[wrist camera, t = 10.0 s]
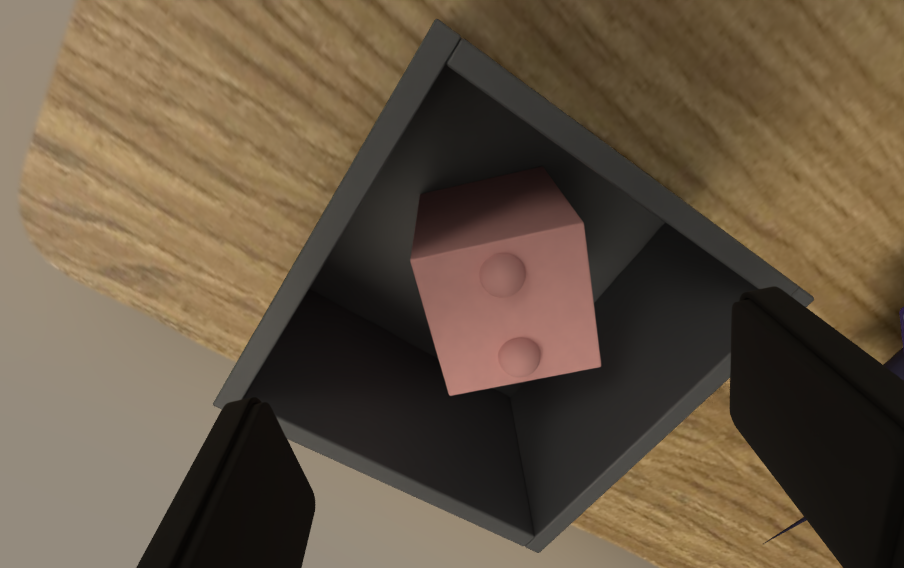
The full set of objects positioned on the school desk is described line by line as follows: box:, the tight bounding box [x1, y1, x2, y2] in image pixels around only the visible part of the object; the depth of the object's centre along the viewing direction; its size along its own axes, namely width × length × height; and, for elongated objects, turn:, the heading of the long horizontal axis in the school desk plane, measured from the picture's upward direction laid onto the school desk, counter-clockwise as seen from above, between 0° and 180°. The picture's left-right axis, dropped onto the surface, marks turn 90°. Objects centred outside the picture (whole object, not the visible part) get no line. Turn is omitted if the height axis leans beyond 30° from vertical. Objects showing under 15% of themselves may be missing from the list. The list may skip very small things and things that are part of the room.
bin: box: [213, 19, 814, 553], centre depth 17 cm, size 11×11×8 cm
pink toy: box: [410, 167, 601, 396], centre depth 16 cm, size 4×4×7 cm
